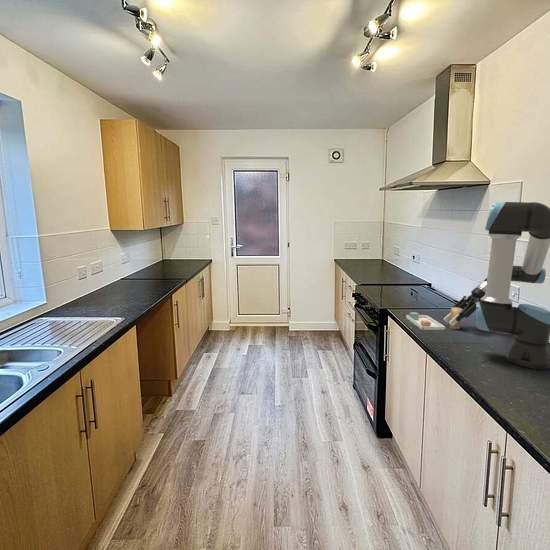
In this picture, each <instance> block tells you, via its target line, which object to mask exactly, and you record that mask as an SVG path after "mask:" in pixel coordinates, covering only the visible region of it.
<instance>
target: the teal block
mask: <svg viewBox="0 0 550 550" xmlns="http://www.w3.org/2000/svg"><path fill="white" fill-rule="evenodd" d="M409 315H410V317H411V318H412V319H413V320H418V318H419V315H420V314H419V313H418V312H417V311H415V312H414V311H413V312H412V311H411V312H409Z"/></svg>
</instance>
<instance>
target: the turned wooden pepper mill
mask: <svg viewBox="0 0 550 550" xmlns="http://www.w3.org/2000/svg"><path fill="white" fill-rule="evenodd" d="M462 311H463V309H462V308H459V307H453V306H451V308H450V313H451V315H450V321H451V320H452V319H453V318H454V317H455V316H456V315H458V314H459V313H461V312H462ZM450 321H449V322H450ZM461 321H462V319H461V320H460V321H458V322H457V323H456V324H455V325H454V326H452V325H451V324H450V323H449V328H450V329H454V330H460V328H461Z"/></svg>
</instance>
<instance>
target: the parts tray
mask: <svg viewBox="0 0 550 550" xmlns="http://www.w3.org/2000/svg"><path fill="white" fill-rule="evenodd" d="M405 318H406V319H407V320H409V321H410V322H411V323H412V324H414V325H415V326H416V327H417V328H419V329H420V330H422V331H427V330H428V331H445V330H446V326H444V325H443V324H442V323H440V322H439V321H437V320H435V319H434V318H432V317H430V316H428V315H427V314H419V318H418V320H413V319H412V318H411V317H410V314H406V315H405ZM421 320H428V321H429V322H431V326H422V325H421Z"/></svg>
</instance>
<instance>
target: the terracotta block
mask: <svg viewBox="0 0 550 550" xmlns="http://www.w3.org/2000/svg"><path fill="white" fill-rule="evenodd" d="M421 325H422V326H431V322H429V321H428V320H421Z"/></svg>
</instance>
